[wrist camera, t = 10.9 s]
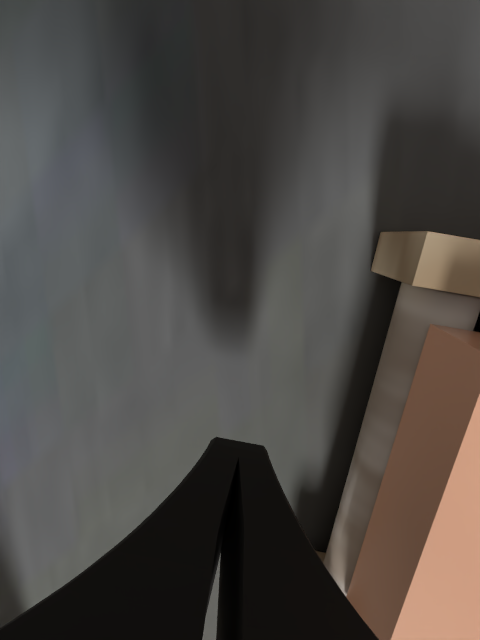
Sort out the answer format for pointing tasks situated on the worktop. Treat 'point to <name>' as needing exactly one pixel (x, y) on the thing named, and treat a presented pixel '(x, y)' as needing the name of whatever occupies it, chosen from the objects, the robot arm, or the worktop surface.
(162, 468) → the worktop surface
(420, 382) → the slab
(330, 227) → the worktop surface
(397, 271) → the roller bed
